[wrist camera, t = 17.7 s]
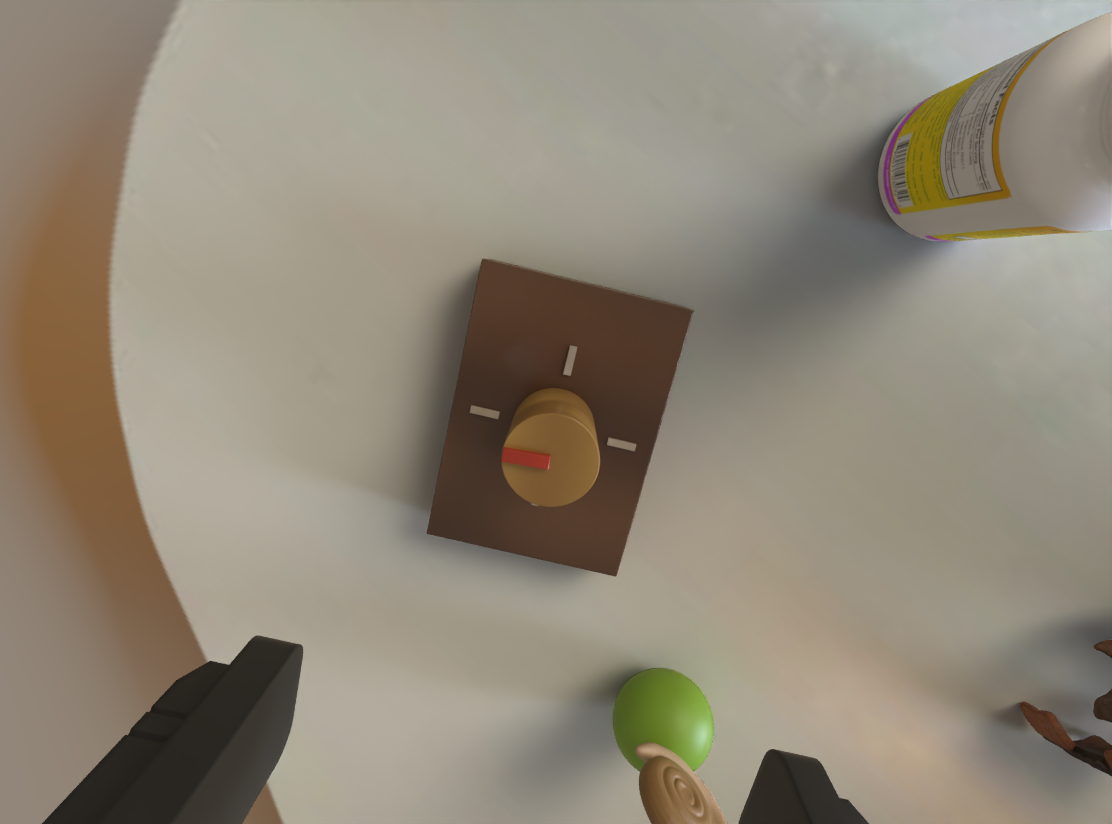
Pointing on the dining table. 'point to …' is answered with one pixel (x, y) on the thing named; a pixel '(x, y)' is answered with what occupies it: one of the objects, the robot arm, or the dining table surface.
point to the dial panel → (567, 363)
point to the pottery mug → (1086, 750)
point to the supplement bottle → (1010, 147)
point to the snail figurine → (667, 745)
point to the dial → (551, 448)
